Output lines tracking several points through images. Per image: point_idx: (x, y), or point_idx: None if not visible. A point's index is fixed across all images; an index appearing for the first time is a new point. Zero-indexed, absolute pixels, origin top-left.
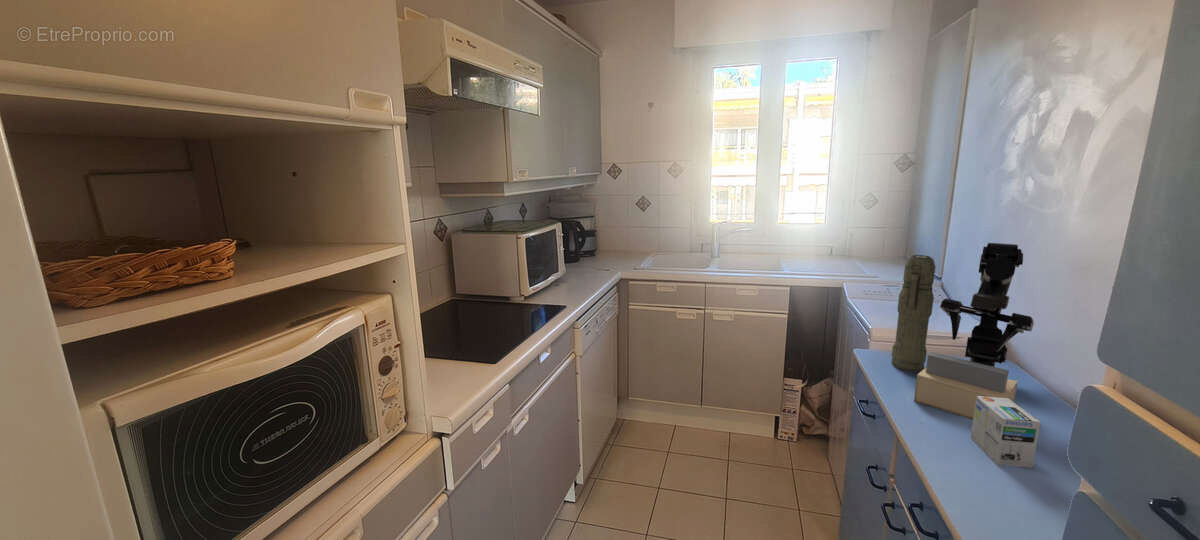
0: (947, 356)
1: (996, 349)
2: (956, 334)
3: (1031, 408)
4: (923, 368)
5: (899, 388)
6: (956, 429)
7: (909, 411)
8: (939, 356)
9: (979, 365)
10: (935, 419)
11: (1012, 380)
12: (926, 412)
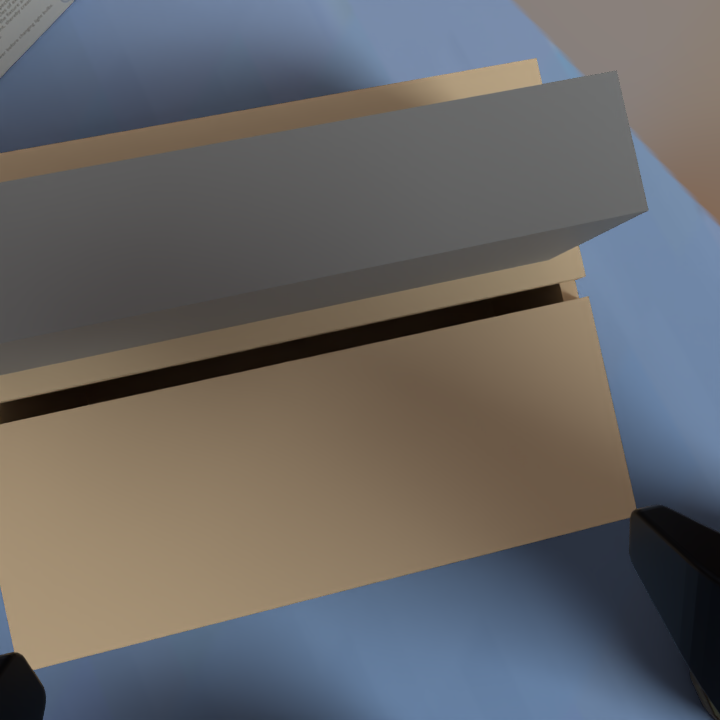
0: (474, 220)
1: (4, 660)
2: (696, 630)
3: (56, 682)
4: (697, 681)
5: (605, 257)
6: (168, 23)
7: (410, 14)
8: (522, 137)
9: (120, 238)
10: (286, 42)
11: (50, 650)
12: (356, 83)
